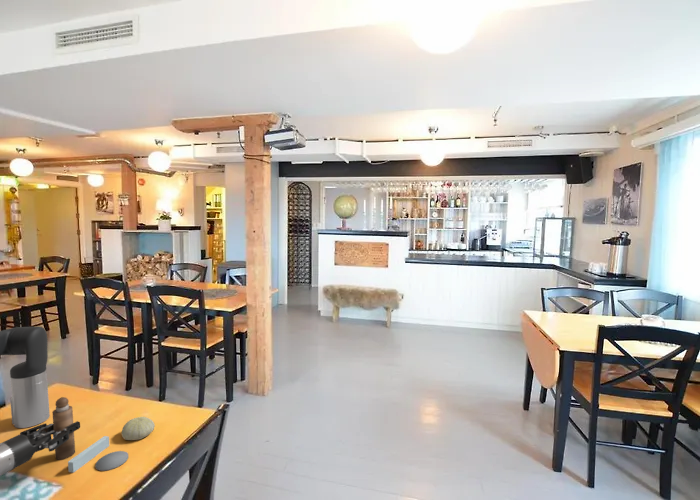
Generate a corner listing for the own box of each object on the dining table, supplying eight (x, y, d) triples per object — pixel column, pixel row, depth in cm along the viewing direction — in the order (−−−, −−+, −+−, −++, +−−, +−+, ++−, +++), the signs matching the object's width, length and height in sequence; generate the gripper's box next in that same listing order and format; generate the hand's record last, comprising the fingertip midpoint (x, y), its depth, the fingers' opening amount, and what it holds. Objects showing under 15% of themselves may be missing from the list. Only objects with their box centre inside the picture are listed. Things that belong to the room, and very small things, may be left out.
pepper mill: (51, 458, 105) (47, 401, 104) (66, 448, 110) (62, 393, 108) (64, 460, 105) (60, 402, 103) (79, 450, 109) (75, 394, 108)
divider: (68, 471, 100) (68, 461, 100) (104, 445, 112) (104, 436, 112) (73, 472, 100) (72, 462, 100) (109, 445, 112) (108, 436, 111)
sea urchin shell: (142, 439, 112) (125, 419, 113) (127, 453, 114) (111, 434, 114) (162, 422, 121) (147, 404, 122) (149, 436, 123) (134, 418, 123)
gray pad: (88, 468, 101) (88, 467, 101) (111, 450, 109) (111, 449, 109) (113, 472, 100) (113, 471, 100) (134, 453, 108) (134, 452, 108)
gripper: (19, 450, 90) (89, 415, 106) (-15, 438, 95) (56, 406, 111) (22, 478, 91) (90, 439, 107) (-12, 464, 96) (58, 429, 112)
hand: (73, 422), depth 109 cm, fingers closed on pepper mill, 4 cm apart
